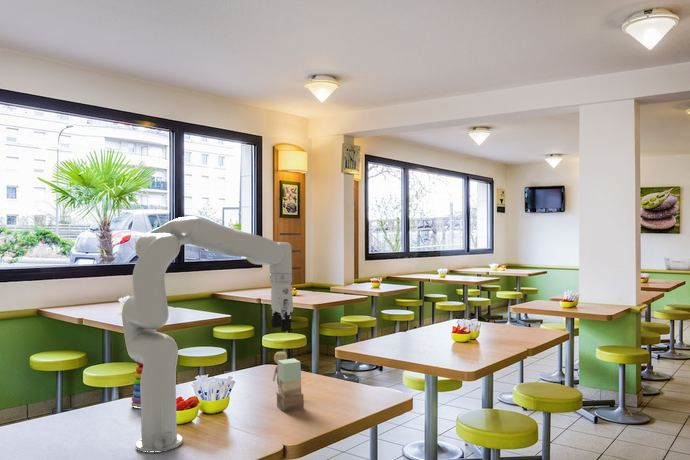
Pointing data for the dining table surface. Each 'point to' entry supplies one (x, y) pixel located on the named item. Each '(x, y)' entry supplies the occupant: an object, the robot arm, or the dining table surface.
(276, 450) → the dining table surface
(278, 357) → the toy
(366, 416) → the dining table surface
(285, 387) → the tower top
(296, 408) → the tower base
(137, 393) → the stacking toy
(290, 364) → the green cube
